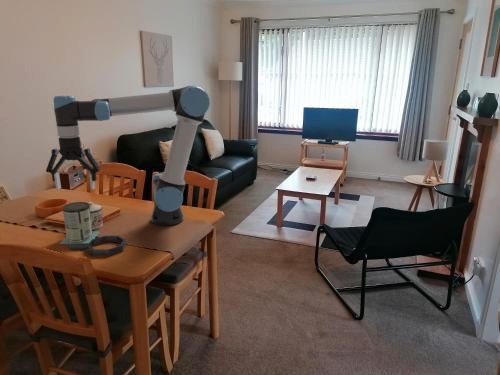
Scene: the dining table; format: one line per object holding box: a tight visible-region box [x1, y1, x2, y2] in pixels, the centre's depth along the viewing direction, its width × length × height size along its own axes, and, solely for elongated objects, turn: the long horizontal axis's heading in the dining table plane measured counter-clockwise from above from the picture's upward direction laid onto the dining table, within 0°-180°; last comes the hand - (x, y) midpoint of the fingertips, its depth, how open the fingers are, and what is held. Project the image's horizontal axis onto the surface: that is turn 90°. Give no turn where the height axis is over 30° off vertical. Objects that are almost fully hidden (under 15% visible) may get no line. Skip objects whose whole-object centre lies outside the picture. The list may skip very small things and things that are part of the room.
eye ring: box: [68, 235, 127, 257], centre depth 142 cm, size 21×14×2 cm, turn 94°
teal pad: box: [59, 231, 101, 245], centre depth 152 cm, size 12×12×1 cm
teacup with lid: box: [88, 201, 104, 231], centre depth 164 cm, size 12×9×12 cm
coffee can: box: [61, 201, 94, 242], centre depth 149 cm, size 10×10×14 cm
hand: (76, 188), depth 146 cm, fingers open, 13 cm apart
